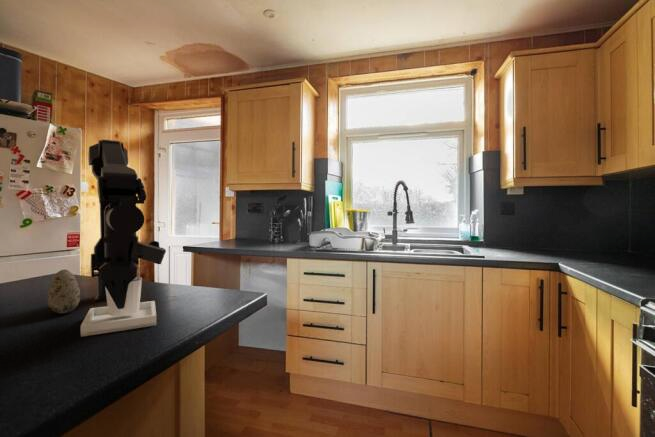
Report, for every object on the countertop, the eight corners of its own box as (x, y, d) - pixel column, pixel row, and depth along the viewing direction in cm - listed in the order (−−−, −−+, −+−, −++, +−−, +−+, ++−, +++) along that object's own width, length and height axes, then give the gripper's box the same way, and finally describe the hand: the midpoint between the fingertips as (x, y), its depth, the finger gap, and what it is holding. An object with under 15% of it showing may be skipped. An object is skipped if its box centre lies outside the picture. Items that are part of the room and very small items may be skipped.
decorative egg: (76, 307, 81) (76, 266, 80) (83, 312, 77) (82, 269, 77) (45, 313, 76) (44, 269, 76) (50, 319, 72) (49, 273, 72)
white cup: (97, 313, 70) (97, 280, 70) (130, 305, 76) (130, 274, 76) (117, 318, 66) (116, 283, 66) (149, 309, 73) (149, 277, 72)
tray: (90, 317, 73) (90, 308, 73) (154, 309, 79) (154, 300, 79) (80, 336, 62) (80, 326, 62) (156, 325, 68) (156, 315, 68)
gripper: (165, 233, 66) (166, 311, 67) (161, 227, 82) (162, 290, 83) (97, 235, 61) (99, 320, 61) (107, 229, 77) (108, 296, 78)
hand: (121, 304), depth 71 cm, fingers closed on white cup, 6 cm apart
